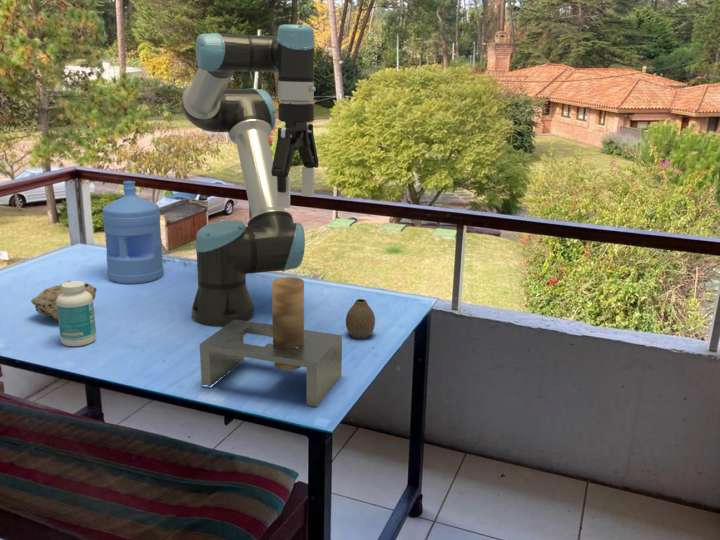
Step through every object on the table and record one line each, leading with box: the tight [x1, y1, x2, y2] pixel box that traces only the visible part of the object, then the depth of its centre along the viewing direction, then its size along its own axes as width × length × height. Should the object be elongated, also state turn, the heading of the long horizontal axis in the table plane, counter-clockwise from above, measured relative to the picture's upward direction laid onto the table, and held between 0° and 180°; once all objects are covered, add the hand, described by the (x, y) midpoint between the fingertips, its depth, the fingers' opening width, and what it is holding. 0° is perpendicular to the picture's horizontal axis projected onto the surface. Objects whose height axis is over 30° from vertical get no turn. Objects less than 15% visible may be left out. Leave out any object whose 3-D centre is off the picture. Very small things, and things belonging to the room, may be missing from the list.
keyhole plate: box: [199, 319, 343, 408], centre depth 132 cm, size 24×14×9 cm, turn 72°
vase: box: [345, 298, 376, 340], centre depth 156 cm, size 7×7×9 cm
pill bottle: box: [56, 280, 97, 347], centre depth 148 cm, size 8×7×14 cm
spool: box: [271, 276, 305, 371], centre depth 128 cm, size 6×6×17 cm
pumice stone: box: [30, 280, 97, 321], centre depth 163 cm, size 14×12×8 cm
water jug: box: [101, 180, 165, 285], centre depth 191 cm, size 16×16×28 cm
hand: (296, 201), depth 147 cm, fingers open, 13 cm apart
